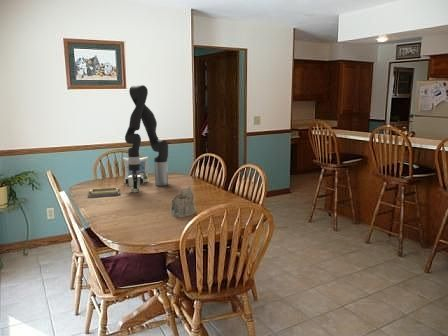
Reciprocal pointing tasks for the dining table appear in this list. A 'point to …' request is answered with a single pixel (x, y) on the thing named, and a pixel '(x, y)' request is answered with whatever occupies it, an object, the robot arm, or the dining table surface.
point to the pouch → (140, 172)
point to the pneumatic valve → (130, 183)
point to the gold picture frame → (104, 192)
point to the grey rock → (183, 204)
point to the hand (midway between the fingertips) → (135, 187)
